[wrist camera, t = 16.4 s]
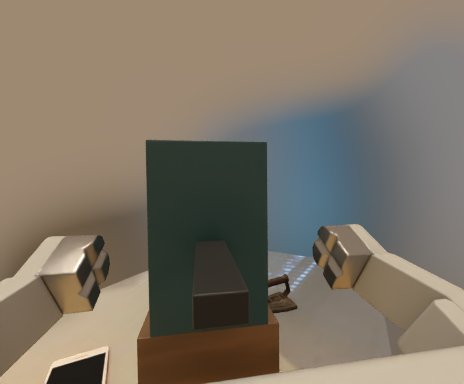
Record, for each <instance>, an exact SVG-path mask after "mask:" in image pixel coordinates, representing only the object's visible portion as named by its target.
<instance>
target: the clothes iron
mask: <svg viewBox="0 0 464 384" xmlns="http://www.w3.org/2000/svg"><path fill="white" fill-rule="evenodd" d="M288 281H289V279H288V276H287V275H286V274H284V275H283V276H281V277H278V278H274V279H270V280H268V287H272V286H275V285H278V284H282V283H285V285H286V290H285V291H284V292H283V293H281V292H278V293H275V294H272V295H269V296H268V306H269V307H270V309H271V311H272V312H273V313H276V312H284V311H289V310H293V309H296V308H297V305H296V304H295V303H294V302H293V301H292V300H291V299H289V298H288V297H287V295H288V294H289V293H290V287H289V284H288Z"/></svg>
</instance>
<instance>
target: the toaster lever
mask: <svg viewBox="0 0 464 384" xmlns="http://www.w3.org/2000/svg"><path fill="white" fill-rule="evenodd" d="M192 309H193V329H194V330H203V329H212V328H221V327H231V326H240V325H248V324H249V290H248V288H247V286H246V284H245V282H244V280H243V278H242V276H241V274H240V272H239V270H238V267H237V265H236V263H235V261H234V259H233V257H232V255H231V253H230V251H229V249H228V247H227V244H226V242H225V241H224V240H219V241H198V242H196V245H195V261H194V277H193V293H192Z"/></svg>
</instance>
